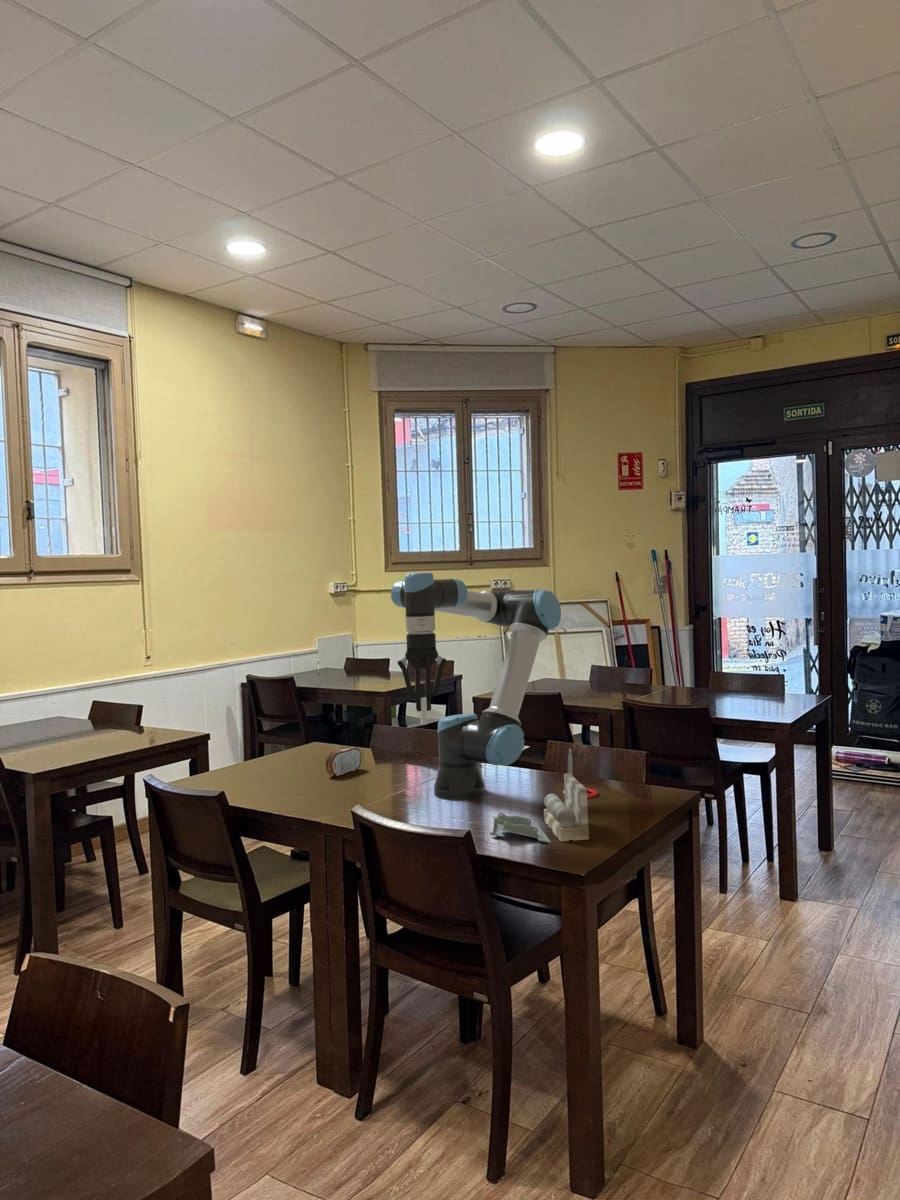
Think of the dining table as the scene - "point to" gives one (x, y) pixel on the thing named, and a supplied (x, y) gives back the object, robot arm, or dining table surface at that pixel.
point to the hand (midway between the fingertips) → (424, 723)
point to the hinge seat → (568, 811)
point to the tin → (343, 760)
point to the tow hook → (572, 775)
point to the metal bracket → (518, 827)
